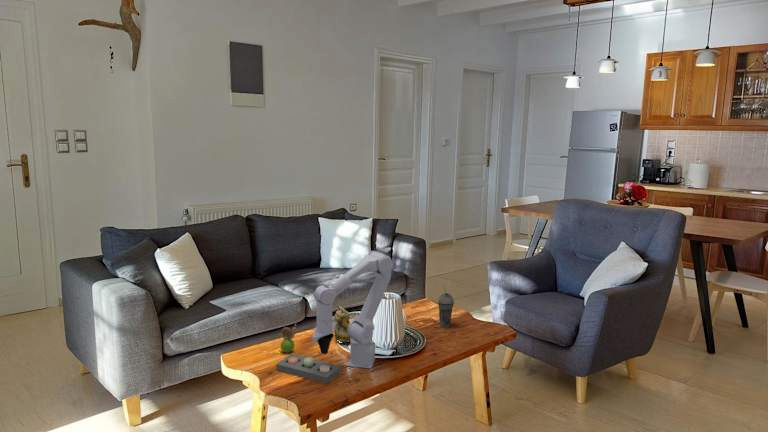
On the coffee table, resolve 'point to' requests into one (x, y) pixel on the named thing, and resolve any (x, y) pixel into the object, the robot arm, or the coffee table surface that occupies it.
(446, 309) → the beverage cup
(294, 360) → the terracotta button
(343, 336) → the decorative figurine
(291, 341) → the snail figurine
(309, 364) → the sage button
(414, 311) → the coffee table surface
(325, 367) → the cream button
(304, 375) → the button panel
